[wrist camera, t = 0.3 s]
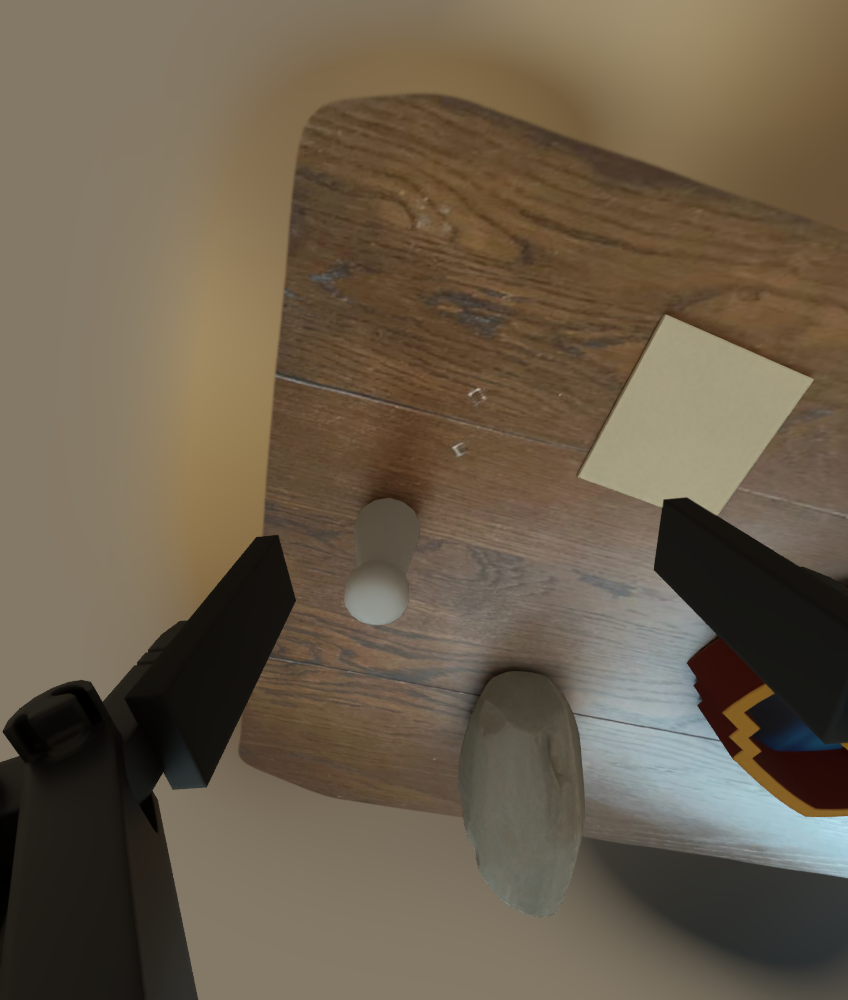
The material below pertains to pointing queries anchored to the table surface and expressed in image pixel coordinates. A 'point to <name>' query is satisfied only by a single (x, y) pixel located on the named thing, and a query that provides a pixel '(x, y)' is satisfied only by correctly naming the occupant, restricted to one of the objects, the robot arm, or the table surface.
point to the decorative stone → (523, 790)
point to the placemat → (691, 418)
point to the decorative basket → (769, 736)
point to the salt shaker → (382, 561)
